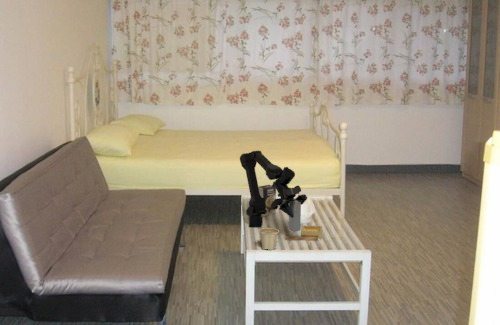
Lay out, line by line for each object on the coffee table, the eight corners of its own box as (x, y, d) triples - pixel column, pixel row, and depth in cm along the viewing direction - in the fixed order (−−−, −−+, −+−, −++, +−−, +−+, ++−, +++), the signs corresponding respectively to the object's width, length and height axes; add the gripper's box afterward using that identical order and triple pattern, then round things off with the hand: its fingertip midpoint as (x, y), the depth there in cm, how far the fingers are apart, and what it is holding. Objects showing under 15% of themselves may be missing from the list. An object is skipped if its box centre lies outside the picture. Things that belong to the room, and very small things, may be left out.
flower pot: (281, 246, 285) (281, 228, 284) (275, 252, 276) (275, 234, 275) (262, 244, 288) (262, 226, 287) (256, 250, 279) (256, 232, 278)
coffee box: (264, 216, 336) (264, 188, 333) (256, 214, 341) (256, 186, 338) (276, 213, 342) (276, 186, 339) (269, 211, 347) (269, 184, 344)
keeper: (301, 238, 297) (301, 231, 297) (302, 232, 307) (302, 225, 306) (321, 238, 296) (322, 232, 296) (321, 232, 306) (321, 226, 305)
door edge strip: (285, 239, 295) (285, 237, 295) (285, 238, 297) (285, 236, 297) (317, 240, 293) (317, 238, 293) (317, 239, 295) (317, 237, 295)
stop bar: (288, 229, 290) (289, 201, 287) (295, 228, 292) (295, 200, 289) (293, 231, 287) (294, 203, 284) (300, 230, 289) (300, 202, 286)
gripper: (274, 182, 283) (288, 210, 276) (305, 178, 293) (319, 204, 286) (264, 195, 291) (278, 222, 284) (295, 190, 301) (308, 216, 294)
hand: (296, 216), depth 287 cm, fingers closed on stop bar, 4 cm apart
